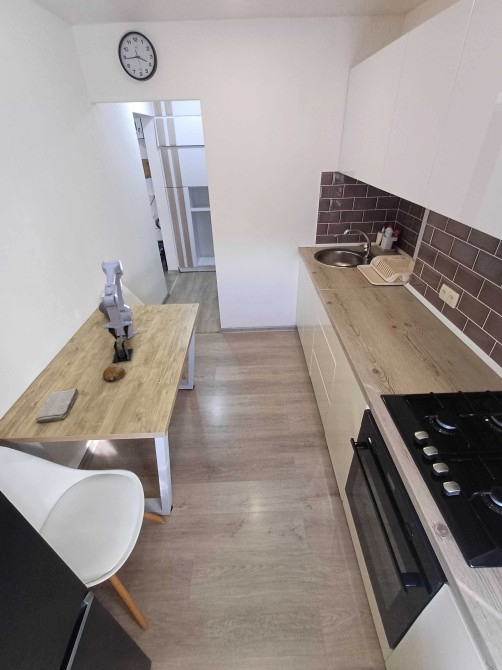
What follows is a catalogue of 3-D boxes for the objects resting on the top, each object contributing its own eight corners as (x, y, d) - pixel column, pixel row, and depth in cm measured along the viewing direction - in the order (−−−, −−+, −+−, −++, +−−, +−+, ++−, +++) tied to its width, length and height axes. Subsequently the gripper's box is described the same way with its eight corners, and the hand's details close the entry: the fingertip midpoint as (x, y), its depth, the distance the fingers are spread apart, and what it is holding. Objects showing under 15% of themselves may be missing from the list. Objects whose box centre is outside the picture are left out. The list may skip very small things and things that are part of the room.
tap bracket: (116, 352, 174) (111, 338, 170) (133, 349, 176) (129, 336, 171) (113, 364, 165) (108, 350, 160) (130, 361, 166) (126, 347, 162)
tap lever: (117, 338, 173) (116, 334, 172) (126, 336, 174) (125, 333, 172) (115, 350, 166) (114, 346, 164) (125, 348, 167) (124, 345, 165)
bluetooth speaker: (131, 321, 204) (127, 307, 199) (117, 327, 198) (113, 312, 193) (113, 311, 217) (109, 298, 212) (100, 316, 211) (96, 303, 206)
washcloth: (36, 424, 131) (33, 419, 130) (52, 395, 146) (49, 389, 145) (66, 419, 133) (63, 414, 131) (79, 391, 148) (76, 386, 146)
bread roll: (129, 379, 159) (129, 364, 158) (114, 384, 150) (115, 368, 148) (113, 376, 162) (113, 360, 161) (97, 380, 152) (98, 364, 151)
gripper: (99, 322, 162) (106, 344, 169) (128, 318, 164) (134, 340, 171) (101, 315, 167) (109, 337, 175) (130, 312, 170) (136, 333, 177)
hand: (121, 338), depth 173 cm, fingers closed on tap lever, 5 cm apart
